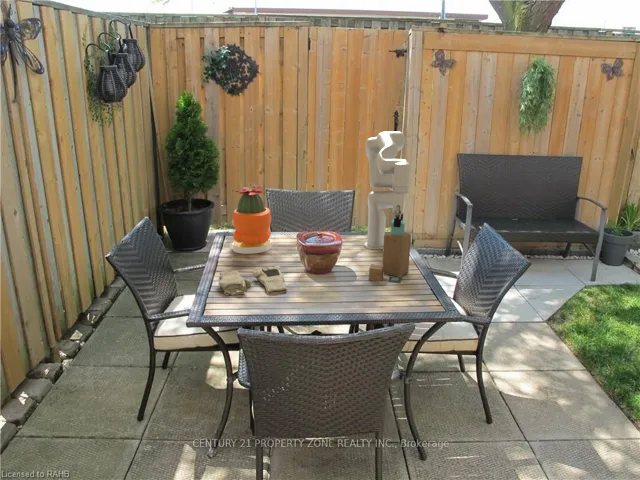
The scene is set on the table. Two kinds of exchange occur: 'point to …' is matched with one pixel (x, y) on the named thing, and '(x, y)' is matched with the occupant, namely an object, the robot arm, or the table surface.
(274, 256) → the table surface
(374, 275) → the walnut cube
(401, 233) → the teal cube
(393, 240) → the wooden block
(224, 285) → the pair of gloves
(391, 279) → the card
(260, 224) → the potted cactus
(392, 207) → the robot arm
